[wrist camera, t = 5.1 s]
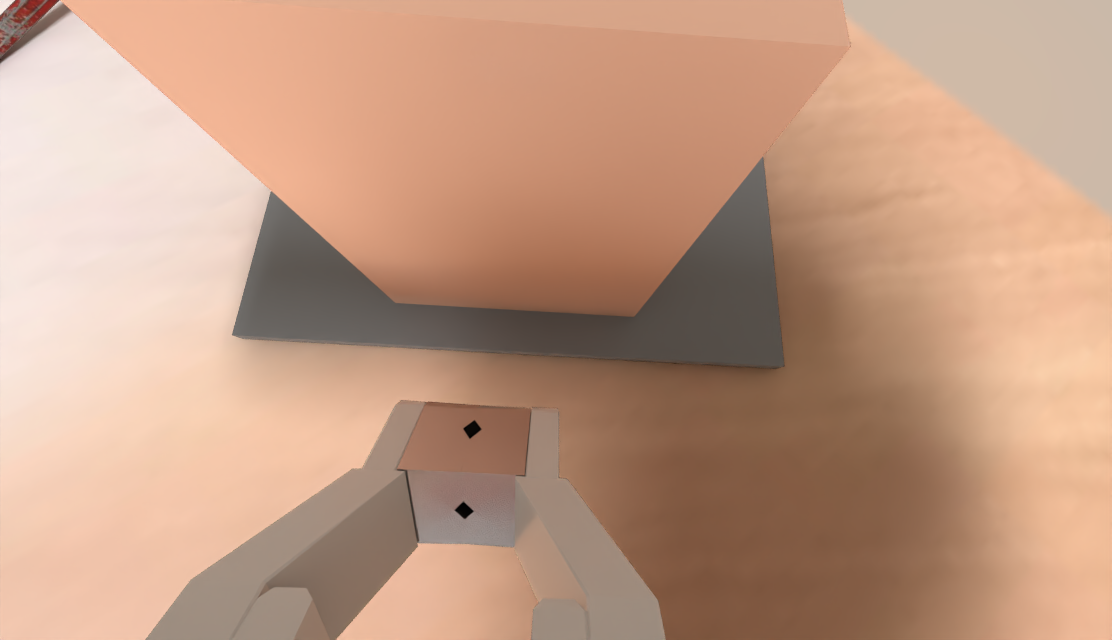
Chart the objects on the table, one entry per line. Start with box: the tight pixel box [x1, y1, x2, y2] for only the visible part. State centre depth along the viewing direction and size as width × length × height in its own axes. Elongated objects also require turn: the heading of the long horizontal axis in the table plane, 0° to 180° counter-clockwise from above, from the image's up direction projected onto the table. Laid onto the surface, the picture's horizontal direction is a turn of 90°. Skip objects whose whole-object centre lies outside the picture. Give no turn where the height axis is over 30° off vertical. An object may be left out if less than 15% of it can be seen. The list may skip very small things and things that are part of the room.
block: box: [60, 0, 851, 317], centre depth 9 cm, size 8×2×10 cm, turn 87°
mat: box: [232, 157, 784, 369], centre depth 16 cm, size 18×16×1 cm
